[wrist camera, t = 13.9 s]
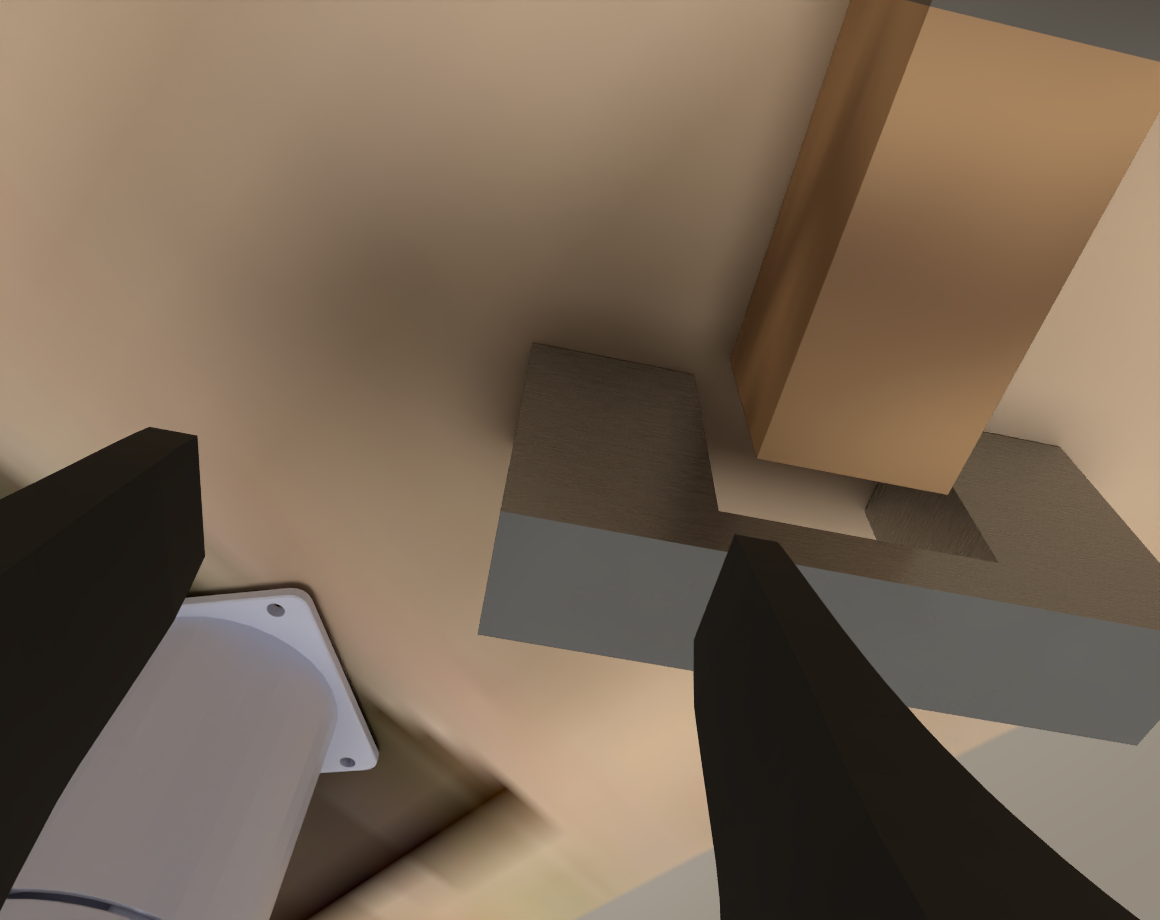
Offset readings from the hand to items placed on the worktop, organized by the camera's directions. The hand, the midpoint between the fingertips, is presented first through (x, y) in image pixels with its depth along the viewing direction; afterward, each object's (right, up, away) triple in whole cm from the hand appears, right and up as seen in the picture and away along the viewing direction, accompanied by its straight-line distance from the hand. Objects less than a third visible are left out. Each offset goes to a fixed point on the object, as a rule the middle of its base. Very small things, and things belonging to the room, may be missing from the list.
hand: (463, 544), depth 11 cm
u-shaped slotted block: (+7, +2, +10) cm, 12 cm away
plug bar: (+8, +8, +6) cm, 13 cm away
